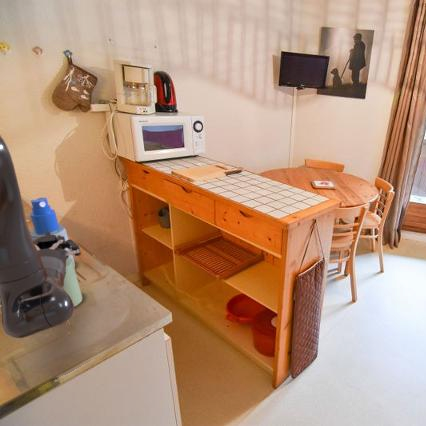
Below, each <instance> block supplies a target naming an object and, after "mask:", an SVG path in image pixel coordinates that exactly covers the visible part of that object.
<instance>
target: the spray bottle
mask: <svg viewBox="0 0 426 426" xmlns="http://www.w3.org/2000/svg"><path fill="white" fill-rule="evenodd" d="M30 203H31V206H32V207H31V211H32V212H30V214H29V217H30V220H31V223H32V226H33V229H32V230H31V231H30V234H31V237H32V240H33V241H35V239H38V238H39V237H42V236H45V235H46V232H47V231H50V232H51V234H50V235H56V236H58V235H61V237H62V236H63V237H64V238H65V241H67V240H69V237H68V232H67V229H66V228H65V226H64V225H62V224H59V221H58V218H57V213H56V210H55V209H52V207H51V205H50V204H49V201H48V198H47V197H38V198H37V199H31V200H30ZM65 250H66V251H69V249H68V248H65ZM69 258H71V259H72V260H73V264H74V267H75V268H76V266H75V265H76V264H75V263H76V262H75V260H74V255H70V256H69Z"/></svg>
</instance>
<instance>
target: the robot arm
mask: <svg viewBox="0 0 426 426" xmlns="http://www.w3.org/2000/svg"><path fill="white" fill-rule="evenodd" d="M30 232H31V231H30V228H29V225H28V222H27V217H26V213H25V208H24V203H23V198H22V194H21V190H20V185H19V181H18V177H17V173H16V168H15V165H14V161H13V158H12V155H11V152H10V150H9V148H8V145H7V143H6V141H5V140H4V138H3V137H2V136H1V135H0V307H1V325H2V330H3V331H4V333H5V334H7V336H9V337H11V338H14V339H24V338H28V337H32V336H33V335H36V334H39V333H41V332H44V331H47V330H50V329H52V328H56V327H59V326H62V325H63V324H66V323H67V322H69V320H71V318H72V317H73V315H74V313H75V307H74V304H73V301H72V299H71V298H70V296H69V295H68V294H67V292H66V291H65V290H64V279H65V276H66V259H67V258H68V257H69V256H70V255H73V256H76V257H79V256H81V255H82V253H81V249H80V248H81V247H80V246H79V245H78V243H76V242H75V241H74V240H72V239H68V240H67V241H65V238H64V237H63V236H62V237H61V235H58V236H57V243H54V244H53V246H52V247H51V248H48V249H40V248H39V245H38V242H37V239H35V241H33V240H32V237H31V234H30ZM65 248H68V249H69V251H66V250H65Z"/></svg>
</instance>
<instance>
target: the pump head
mask: <svg viewBox="0 0 426 426" xmlns="http://www.w3.org/2000/svg"><path fill="white" fill-rule="evenodd" d="M50 234H51V232H50V231H47V232H46V235H45V236H42V237H39V238H38V239H37V242H38V245H39V248H40V249H48V248H51V247H52V246H53V244H54V243H57V236H56V235H50Z"/></svg>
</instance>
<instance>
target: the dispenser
mask: <svg viewBox="0 0 426 426" xmlns="http://www.w3.org/2000/svg"><path fill="white" fill-rule="evenodd" d="M64 290H65V291H66V292H67V294H68V295H69V296H70V298H71V299H72V301H73V304H74V308H75V307H77V306H78V305H79V304H81V302H82V301H83V294H82V291H81V286H80V283H79V279H78V275H77V271H76V266H75V267H74V264H73V260H72V259H71V258H69V257H68V258H67V259H66V276H65V279H64Z"/></svg>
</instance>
